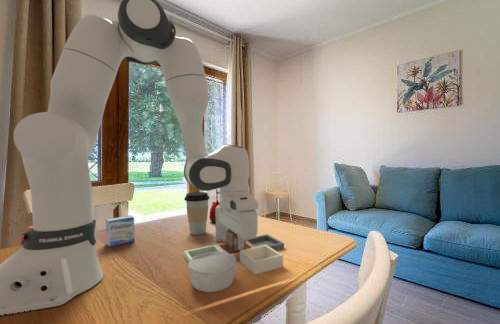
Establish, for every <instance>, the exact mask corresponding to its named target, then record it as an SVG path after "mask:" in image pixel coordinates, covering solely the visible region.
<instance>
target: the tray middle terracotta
mask: <svg viewBox="0 0 500 324" xmlns="http://www.w3.org/2000/svg"><path fill="white" fill-rule="evenodd" d="M215 245H216V246H217V247H218V248H219V249H221V250H222V251H223V252H225V253H228V252H227V251H226V242H222V243H216V244H215ZM253 247H254V246H252V245H251V244H249V243H248V242H246V249H249V248H253ZM231 255H233V256H234V257H235V258H236V261H237V260H240V252H238V253H234V254H231Z"/></svg>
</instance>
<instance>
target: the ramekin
mask: <svg viewBox="0 0 500 324" xmlns="http://www.w3.org/2000/svg"><path fill="white" fill-rule="evenodd" d="M187 263H188V262H187ZM236 266H237V260H236V258H235V257H234V256H233V255H231V254H229V253H225V252H207V253H203V254H199V255H197V256H195V257H193V258H192V259H191V260H190V261H189V263H188V266H187V267H188V268H187V270H188V271H189V277H190V281H191V285H192V287H193V288H194V289H196V290H197V291H200V292H203V293H204V292H205V293H206V292H207V293H211V292H213V293H214V292H219V291H223V290H225V289H227V288H229V286H231V285H232V284H233V282H234V280H235V279H234V278H235V272H236Z"/></svg>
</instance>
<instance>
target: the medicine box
mask: <svg viewBox="0 0 500 324" xmlns="http://www.w3.org/2000/svg"><path fill="white" fill-rule="evenodd" d="M105 230H106V232H105V233H106V245H107V246H108V247H109V248H113V247H112V246H114V247H117V246H116V245H118V246H121V244H122V245H125V243H126V244H129V242H130V243H133V242H135V217H133V215H125V216H119V217H112V218H106V219H105Z"/></svg>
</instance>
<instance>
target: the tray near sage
mask: <svg viewBox="0 0 500 324" xmlns="http://www.w3.org/2000/svg"><path fill="white" fill-rule="evenodd" d="M207 252H223V251H222V250H221V249H219V248H218V247H217V246H216V244H212V245H206V246H202V247H198V248H197V247H196V248H194V249H193V248H192V249H187V250H184V251H183V256H184V259H185V260H186V262H187V263H189V261H190V260H191V259H192V258H193V257H195V256H197V255H199V254H203V253H207Z"/></svg>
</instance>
